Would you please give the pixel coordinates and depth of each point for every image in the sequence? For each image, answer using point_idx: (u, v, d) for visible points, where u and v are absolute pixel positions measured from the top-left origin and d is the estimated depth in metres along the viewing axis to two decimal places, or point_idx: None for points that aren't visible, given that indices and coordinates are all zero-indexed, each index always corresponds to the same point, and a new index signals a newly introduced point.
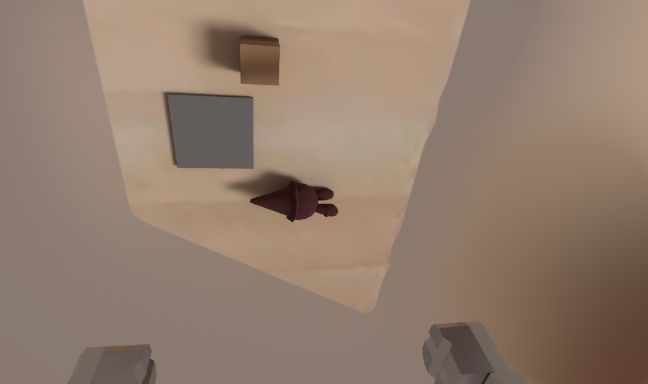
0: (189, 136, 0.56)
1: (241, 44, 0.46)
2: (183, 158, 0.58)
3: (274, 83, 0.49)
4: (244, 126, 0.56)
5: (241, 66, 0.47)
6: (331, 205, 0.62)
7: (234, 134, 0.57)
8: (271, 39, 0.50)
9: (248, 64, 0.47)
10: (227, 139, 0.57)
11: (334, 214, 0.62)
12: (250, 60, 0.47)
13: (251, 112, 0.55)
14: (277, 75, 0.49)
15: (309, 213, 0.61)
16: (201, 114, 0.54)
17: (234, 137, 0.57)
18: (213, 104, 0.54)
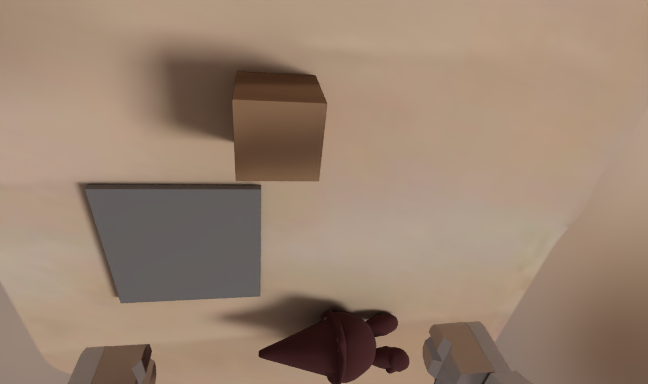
0: (138, 256, 0.29)
1: (236, 100, 0.19)
2: (131, 290, 0.31)
3: (310, 177, 0.22)
4: (243, 235, 0.29)
5: (236, 147, 0.20)
6: (399, 353, 0.36)
7: (225, 249, 0.30)
8: (302, 78, 0.23)
9: (253, 143, 0.20)
10: (212, 256, 0.30)
11: (403, 368, 0.36)
12: (258, 133, 0.20)
13: (257, 212, 0.28)
14: (317, 162, 0.22)
15: (362, 373, 0.34)
16: (159, 220, 0.27)
17: (225, 253, 0.30)
18: (182, 202, 0.27)
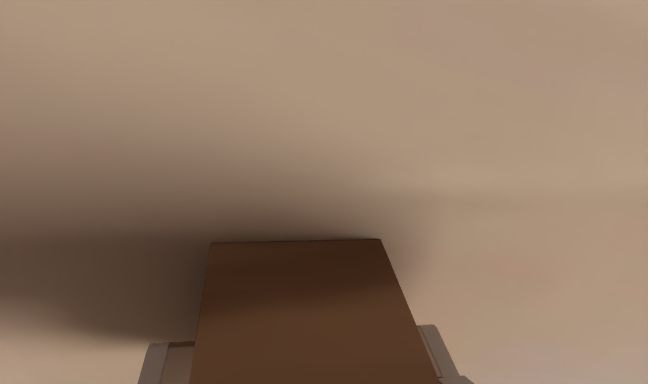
0: None
1: None
2: None
3: None
4: None
5: None
6: None
7: None
8: (356, 260, 0.10)
9: None
10: None
11: None
12: None
13: None
14: None
15: None
16: None
17: None
18: None
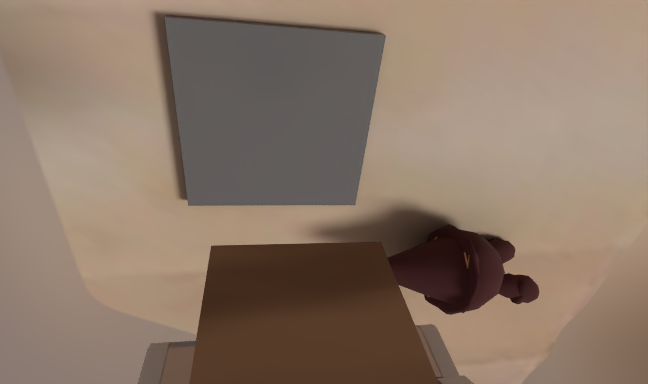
0: (218, 133, 0.23)
1: None
2: (203, 186, 0.25)
3: None
4: (351, 108, 0.23)
5: None
6: (529, 280, 0.29)
7: (326, 129, 0.24)
8: (356, 263, 0.10)
9: None
10: (308, 140, 0.24)
11: (532, 299, 0.30)
12: None
13: (375, 73, 0.22)
14: None
15: None
16: (252, 77, 0.21)
17: (325, 136, 0.24)
18: (285, 49, 0.21)
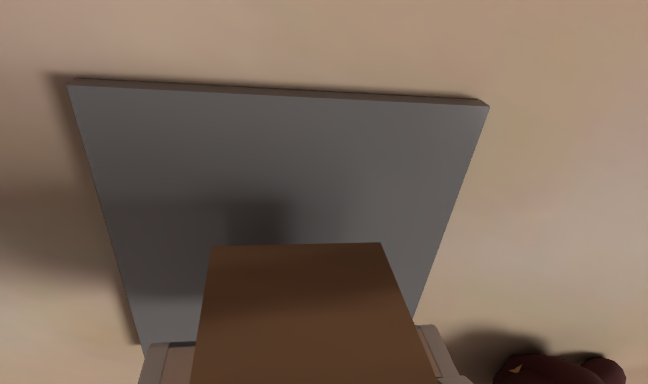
0: (189, 265, 0.13)
1: None
2: (167, 334, 0.15)
3: None
4: (415, 219, 0.14)
5: None
6: None
7: None
8: (356, 263, 0.10)
9: None
10: None
11: None
12: None
13: (462, 167, 0.13)
14: None
15: None
16: (246, 180, 0.12)
17: None
18: (306, 135, 0.11)
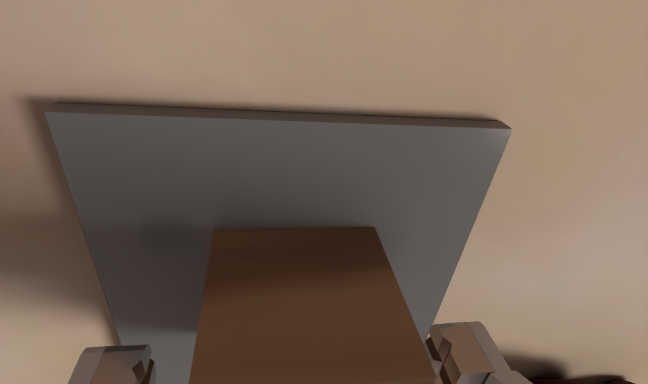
0: (183, 298, 0.12)
1: None
2: (161, 368, 0.14)
3: None
4: (428, 247, 0.13)
5: None
6: None
7: None
8: (351, 246, 0.11)
9: None
10: None
11: None
12: None
13: (480, 192, 0.12)
14: None
15: None
16: (245, 210, 0.11)
17: None
18: (312, 162, 0.10)
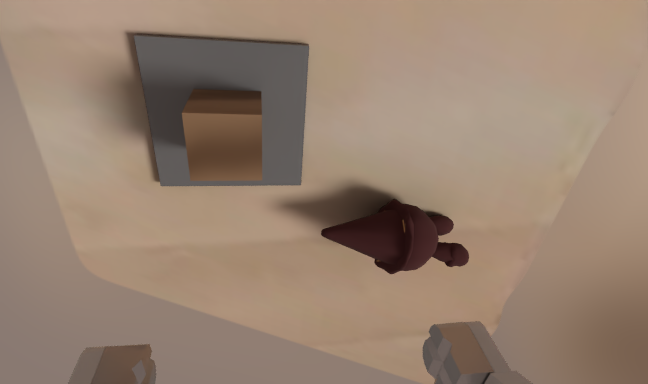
0: (182, 125, 0.29)
1: (185, 113, 0.23)
2: (172, 169, 0.30)
3: (254, 177, 0.26)
4: (288, 104, 0.29)
5: (189, 152, 0.25)
6: (460, 246, 0.35)
7: (269, 121, 0.29)
8: (248, 94, 0.27)
9: (202, 148, 0.25)
10: None
11: (463, 263, 0.35)
12: (206, 140, 0.24)
13: (304, 75, 0.28)
14: (259, 164, 0.26)
15: (425, 260, 0.33)
16: (205, 80, 0.27)
17: (269, 127, 0.30)
18: (229, 58, 0.26)
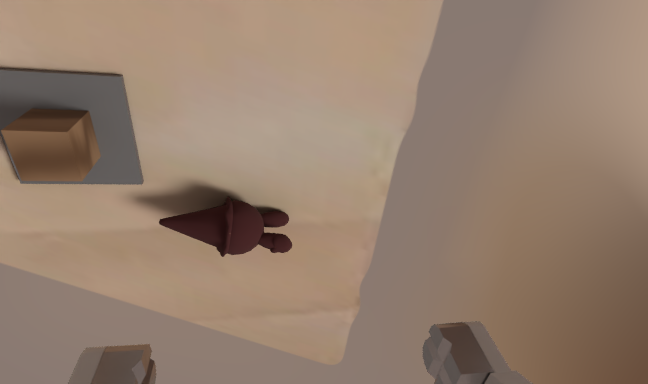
0: None
1: (4, 130, 0.31)
2: None
3: (74, 179, 0.34)
4: (114, 120, 0.36)
5: (14, 159, 0.32)
6: (282, 236, 0.43)
7: (102, 133, 0.37)
8: (74, 113, 0.35)
9: (25, 156, 0.32)
10: None
11: (285, 250, 0.43)
12: (26, 151, 0.32)
13: (122, 99, 0.35)
14: (75, 168, 0.33)
15: (247, 246, 0.41)
16: (40, 102, 0.34)
17: (102, 138, 0.37)
18: (56, 85, 0.34)
